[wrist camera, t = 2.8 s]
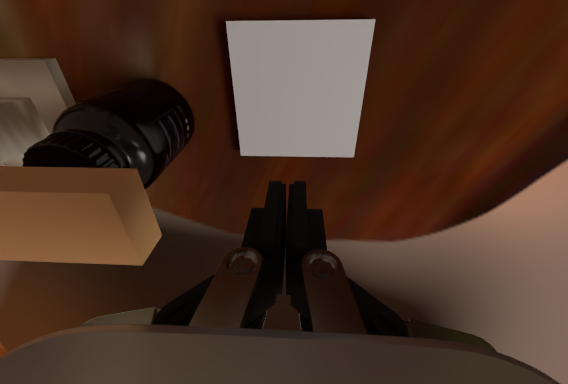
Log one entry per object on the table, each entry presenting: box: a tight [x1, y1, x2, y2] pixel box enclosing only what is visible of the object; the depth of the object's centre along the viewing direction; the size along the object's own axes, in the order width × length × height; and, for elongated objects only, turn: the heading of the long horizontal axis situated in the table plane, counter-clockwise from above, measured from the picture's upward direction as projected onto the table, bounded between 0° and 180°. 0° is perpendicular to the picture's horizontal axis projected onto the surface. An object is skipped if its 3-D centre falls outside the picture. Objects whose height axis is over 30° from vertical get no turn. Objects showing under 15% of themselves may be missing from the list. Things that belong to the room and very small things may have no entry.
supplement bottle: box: [22, 79, 194, 189], centre depth 19 cm, size 7×7×12 cm
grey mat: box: [226, 19, 375, 157], centre depth 22 cm, size 11×11×1 cm
